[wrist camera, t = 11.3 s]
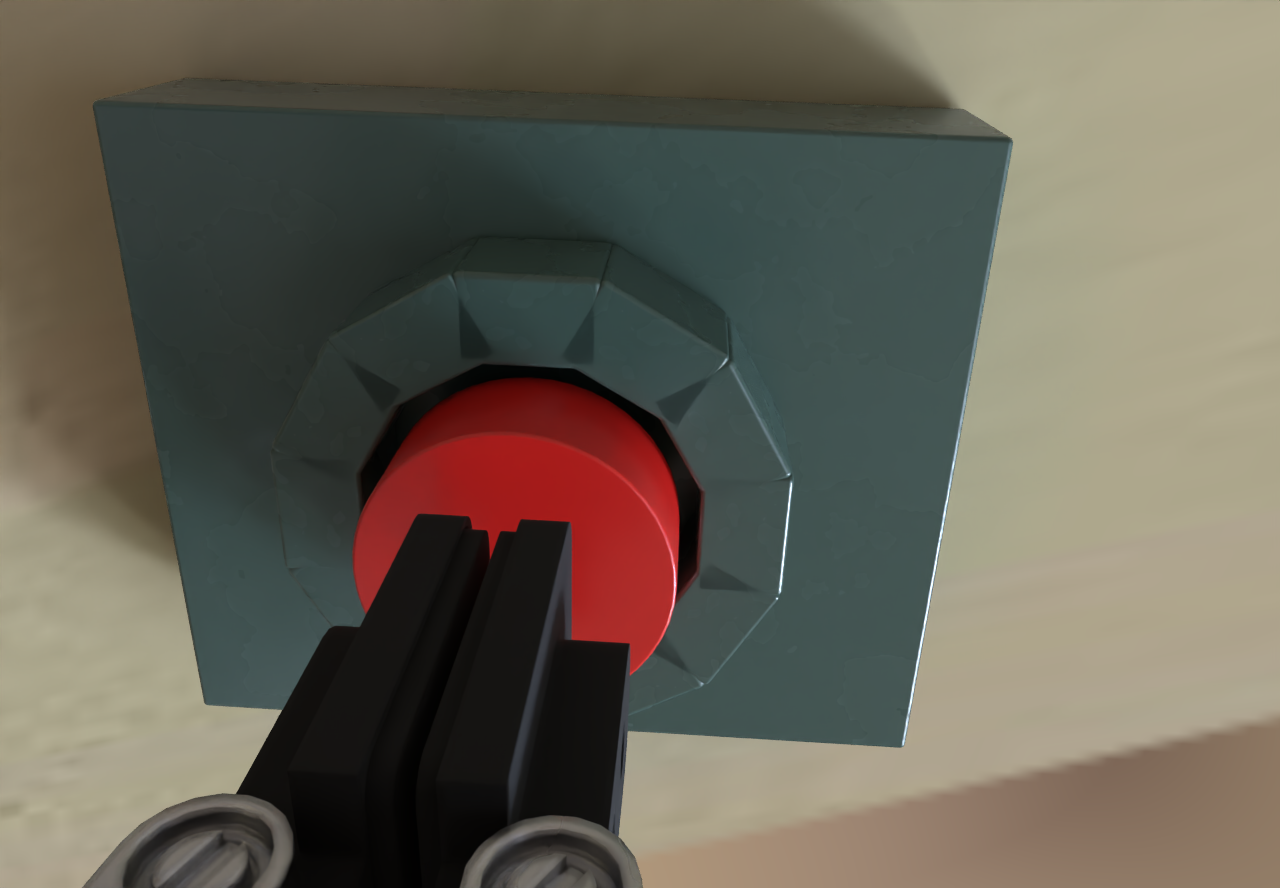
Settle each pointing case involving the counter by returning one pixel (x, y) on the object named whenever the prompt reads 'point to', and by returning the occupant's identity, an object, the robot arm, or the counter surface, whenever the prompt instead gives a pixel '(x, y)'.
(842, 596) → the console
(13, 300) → the counter surface
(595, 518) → the button
